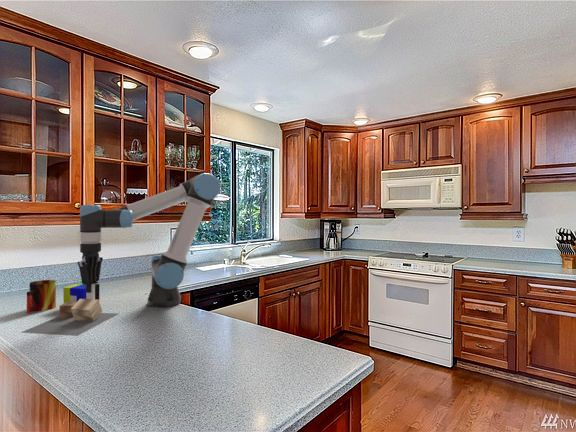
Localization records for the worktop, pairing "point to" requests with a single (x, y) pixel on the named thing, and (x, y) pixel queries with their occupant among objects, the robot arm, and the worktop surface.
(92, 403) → the worktop surface
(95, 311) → the oak block
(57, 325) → the mat
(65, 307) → the walnut cube
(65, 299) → the puzzle toy
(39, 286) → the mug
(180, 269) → the robot arm
